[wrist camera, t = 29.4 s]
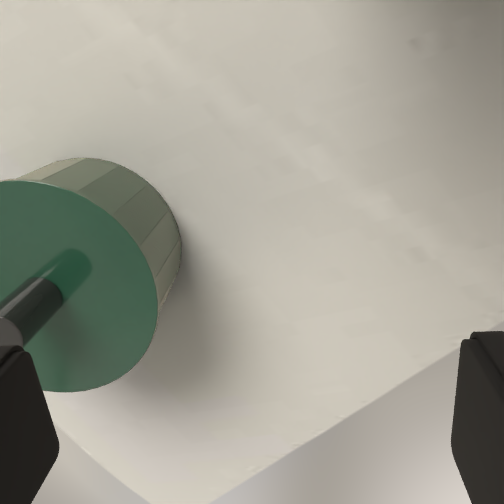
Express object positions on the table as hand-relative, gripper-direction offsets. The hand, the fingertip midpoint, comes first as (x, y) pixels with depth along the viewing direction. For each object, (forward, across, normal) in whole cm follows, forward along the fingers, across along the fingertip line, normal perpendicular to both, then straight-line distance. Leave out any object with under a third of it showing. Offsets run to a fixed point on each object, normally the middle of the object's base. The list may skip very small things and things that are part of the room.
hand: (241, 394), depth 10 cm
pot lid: (+18, +15, +6) cm, 25 cm away
